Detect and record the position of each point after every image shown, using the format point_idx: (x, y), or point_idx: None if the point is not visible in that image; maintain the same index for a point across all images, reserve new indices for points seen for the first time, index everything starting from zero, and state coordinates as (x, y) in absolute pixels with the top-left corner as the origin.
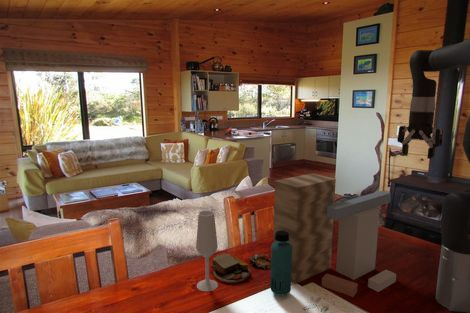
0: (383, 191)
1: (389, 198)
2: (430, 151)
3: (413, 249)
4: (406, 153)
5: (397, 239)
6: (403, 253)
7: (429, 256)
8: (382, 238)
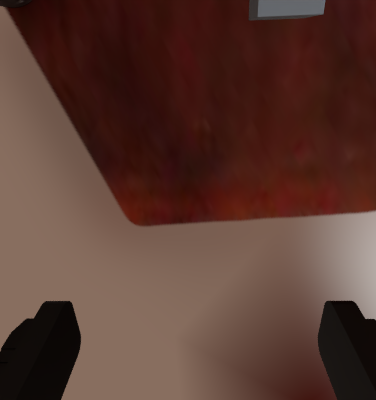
0: (306, 2)
1: (253, 5)
2: (4, 377)
3: (211, 158)
4: (327, 335)
5: (266, 180)
6: (214, 114)
7: (168, 153)
8: (297, 154)
